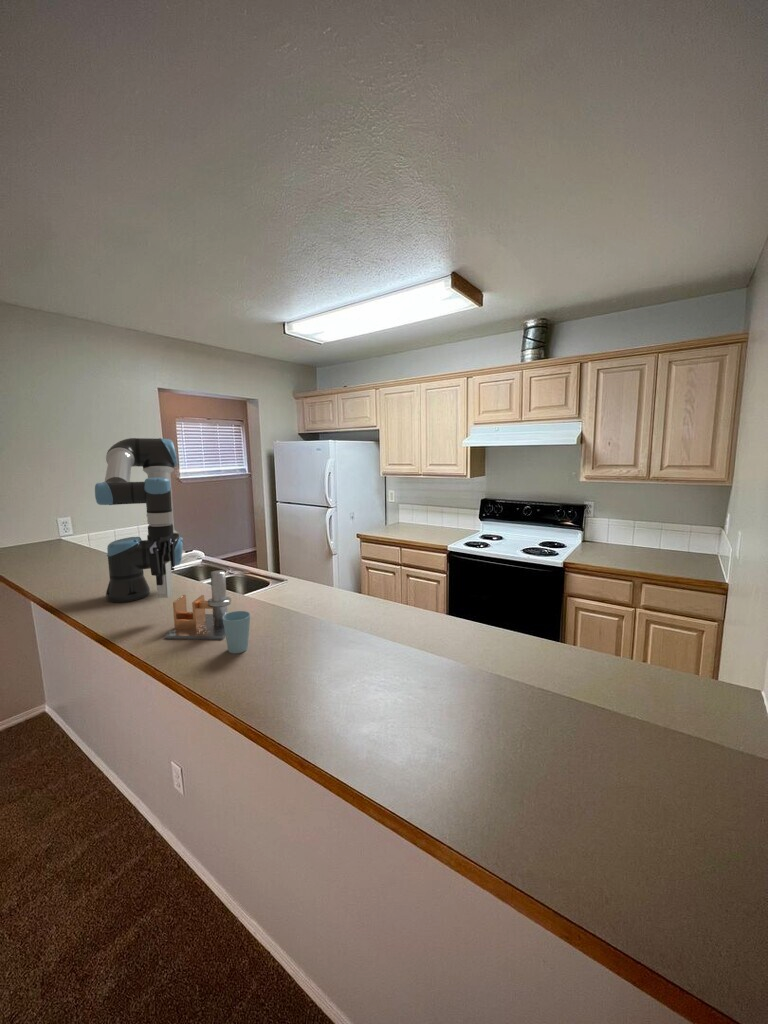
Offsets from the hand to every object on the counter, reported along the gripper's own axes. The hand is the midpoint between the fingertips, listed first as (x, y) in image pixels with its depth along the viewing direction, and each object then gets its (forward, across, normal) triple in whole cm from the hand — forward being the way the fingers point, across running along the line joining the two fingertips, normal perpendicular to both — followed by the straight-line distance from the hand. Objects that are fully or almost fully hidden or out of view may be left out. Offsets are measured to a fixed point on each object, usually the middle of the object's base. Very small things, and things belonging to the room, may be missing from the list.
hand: (165, 591), depth 146 cm
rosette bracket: (+10, +6, +16) cm, 20 cm away
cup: (+9, +22, +32) cm, 40 cm away
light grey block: (+2, 0, 0) cm, 2 cm away
